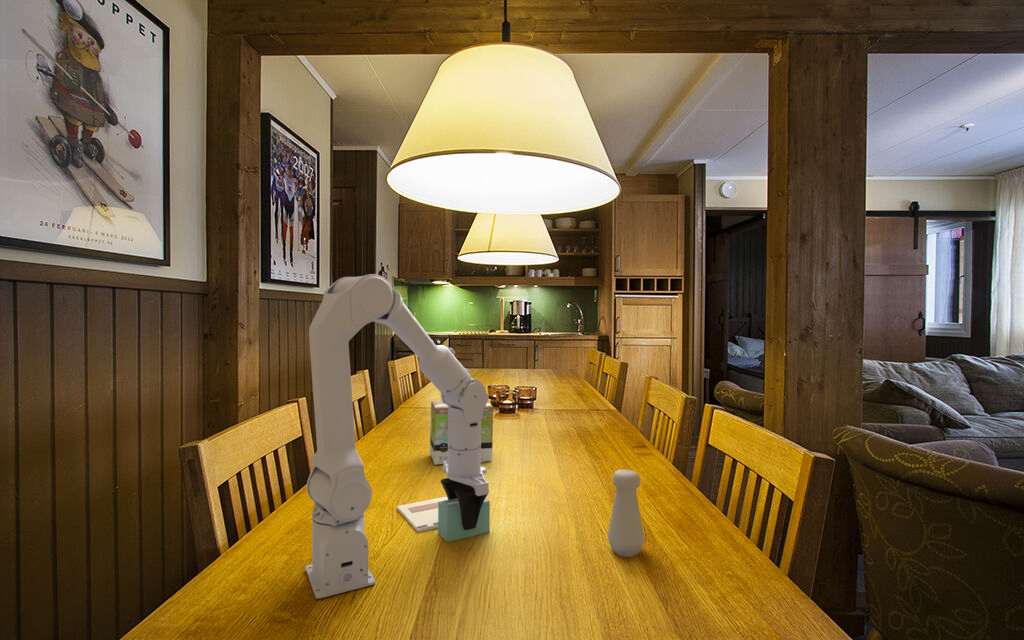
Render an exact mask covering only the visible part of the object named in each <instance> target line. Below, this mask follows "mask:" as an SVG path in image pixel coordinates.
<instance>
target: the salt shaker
mask: <svg viewBox="0 0 1024 640" xmlns="http://www.w3.org/2000/svg"><path fill="white" fill-rule="evenodd" d="M612 483H613V486H614V487H616V489H615V494H614V499H613V505H612V511H611V516H610V520H609V527H608V533H607V540H608V543H609V545H610V548H611V550H612V552H613V553H615V554H616V555H617V556H619V557H625V558H632V557H635V556H638V555H639V554H640V552H641V550H642V548H643V545H644V543H645V534H644V530H643V524H642V519H641V518H642V517H641V512H640V507H639V499H638V494H637V489H638V488H640V485H641V478H640V475H639V473H638V472H636V471H635V470H631V469H618V470H616V471H614V472H613V477H612Z"/></svg>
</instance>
